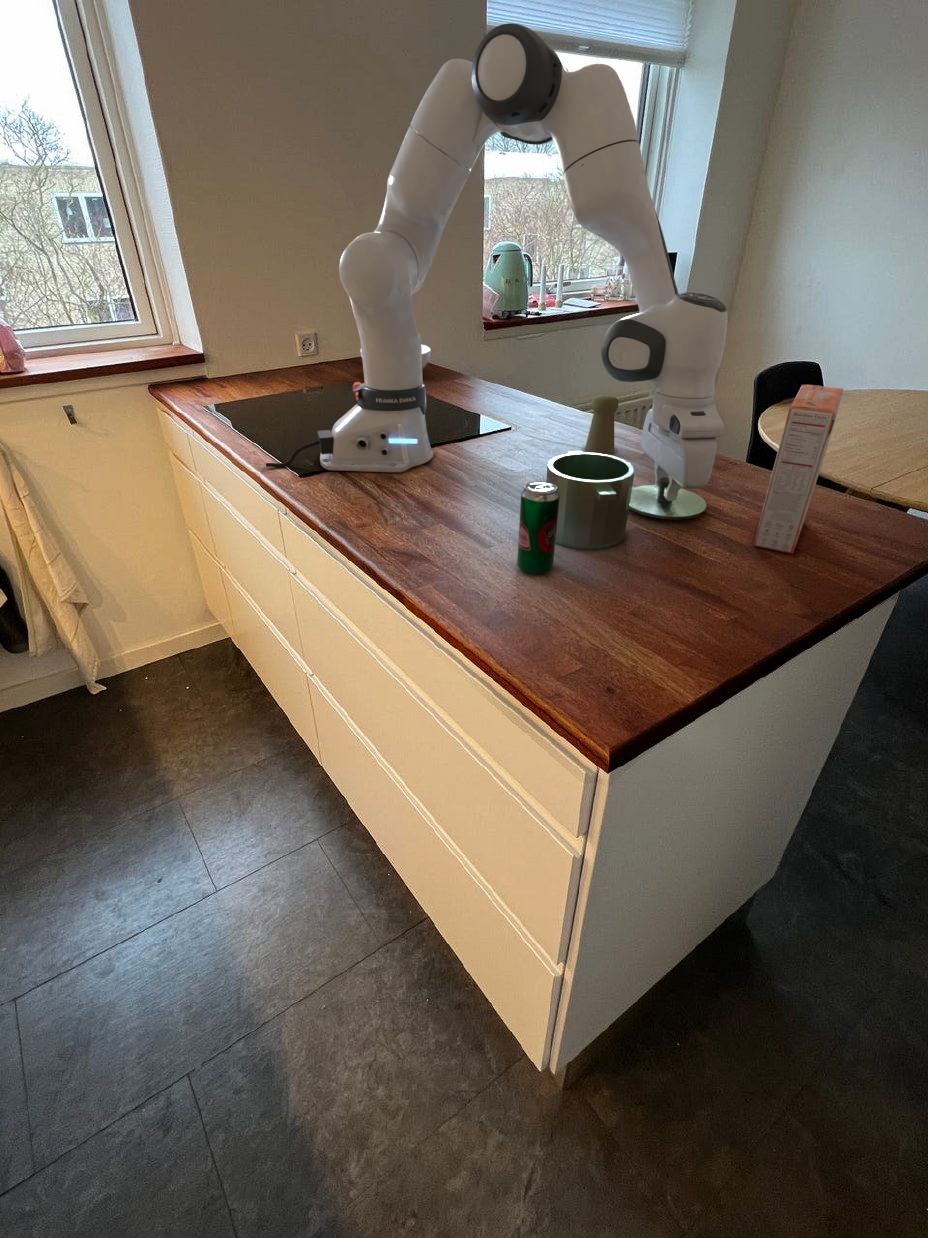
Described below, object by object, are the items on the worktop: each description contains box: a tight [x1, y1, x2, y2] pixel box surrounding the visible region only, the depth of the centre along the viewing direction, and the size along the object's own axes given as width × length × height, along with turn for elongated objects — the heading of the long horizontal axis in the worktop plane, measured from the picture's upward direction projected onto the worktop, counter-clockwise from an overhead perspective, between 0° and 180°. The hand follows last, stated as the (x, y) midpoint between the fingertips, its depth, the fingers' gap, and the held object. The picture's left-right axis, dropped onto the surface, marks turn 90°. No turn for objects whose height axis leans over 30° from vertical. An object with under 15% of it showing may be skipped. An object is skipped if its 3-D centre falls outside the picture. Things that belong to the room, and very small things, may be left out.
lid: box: [629, 477, 707, 521], centre depth 106 cm, size 14×14×5 cm
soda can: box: [516, 480, 560, 576], centre depth 86 cm, size 5×5×12 cm
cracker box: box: [752, 384, 844, 555], centre depth 93 cm, size 14×6×21 cm, turn 150°
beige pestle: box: [584, 393, 619, 455], centre depth 129 cm, size 6×6×11 cm
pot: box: [545, 450, 635, 550], centre depth 96 cm, size 13×18×10 cm
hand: (665, 494), depth 106 cm, fingers closed on lid, 2 cm apart
